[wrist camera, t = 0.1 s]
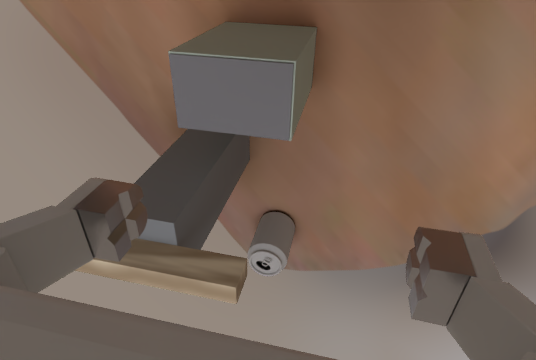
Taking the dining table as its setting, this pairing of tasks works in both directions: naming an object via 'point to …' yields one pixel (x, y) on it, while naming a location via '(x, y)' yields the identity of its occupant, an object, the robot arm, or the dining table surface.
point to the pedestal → (191, 186)
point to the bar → (176, 270)
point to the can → (271, 244)
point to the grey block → (244, 79)
